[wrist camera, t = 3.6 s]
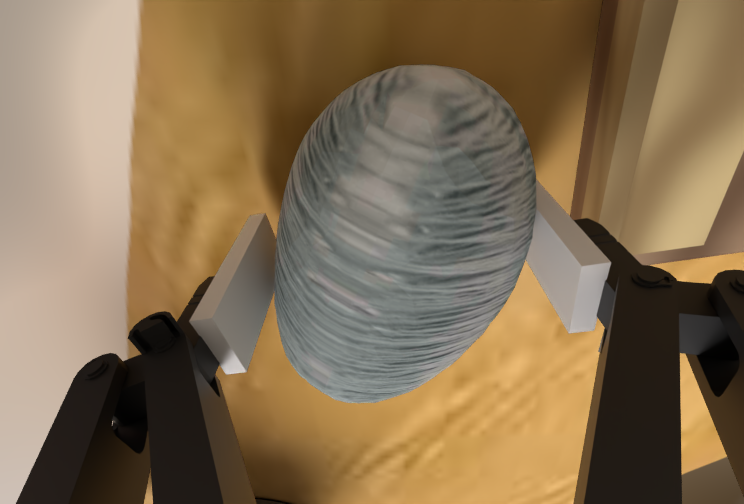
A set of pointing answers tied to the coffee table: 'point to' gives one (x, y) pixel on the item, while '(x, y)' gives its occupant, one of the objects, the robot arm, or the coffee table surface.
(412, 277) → the grey streaked ellipsoid
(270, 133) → the coffee table surface
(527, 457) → the coffee table surface
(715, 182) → the shallow beige tray
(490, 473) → the coffee table surface
